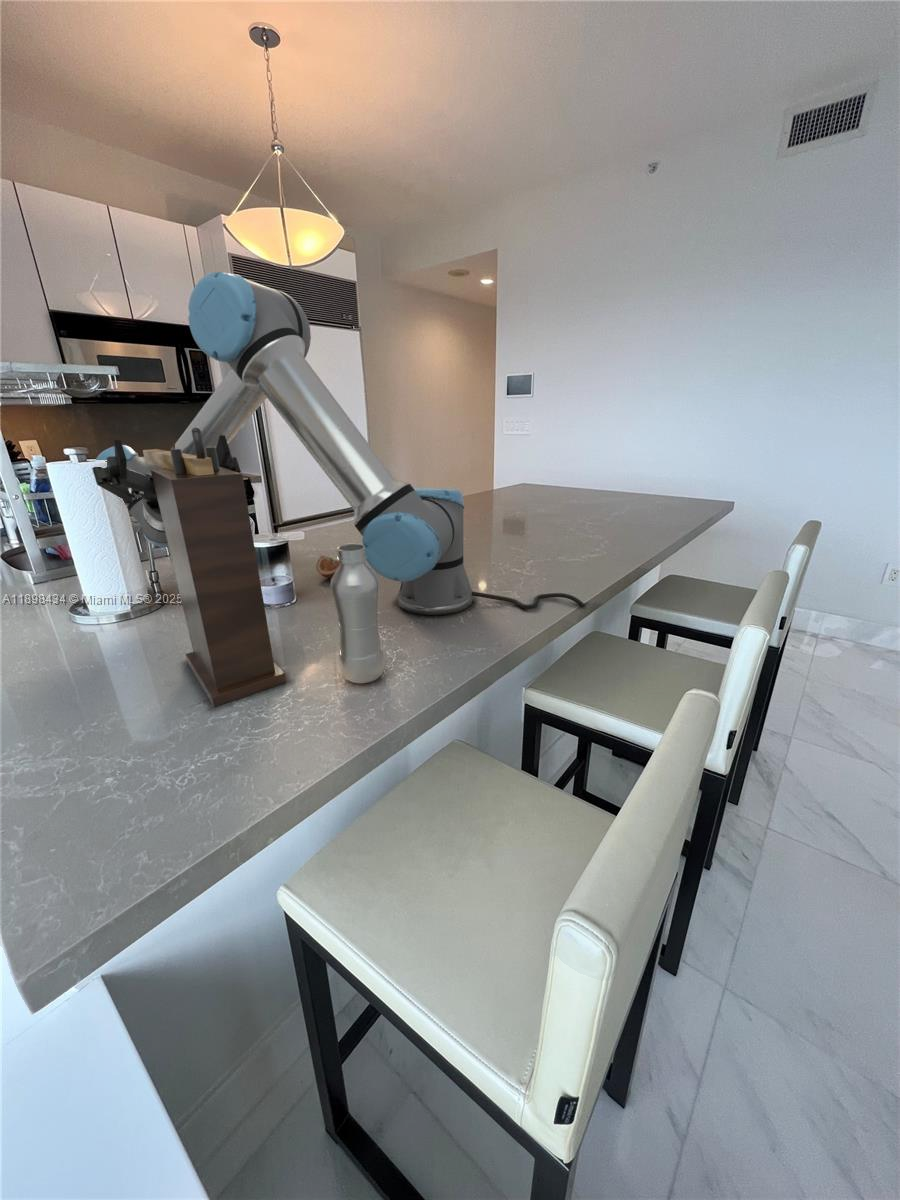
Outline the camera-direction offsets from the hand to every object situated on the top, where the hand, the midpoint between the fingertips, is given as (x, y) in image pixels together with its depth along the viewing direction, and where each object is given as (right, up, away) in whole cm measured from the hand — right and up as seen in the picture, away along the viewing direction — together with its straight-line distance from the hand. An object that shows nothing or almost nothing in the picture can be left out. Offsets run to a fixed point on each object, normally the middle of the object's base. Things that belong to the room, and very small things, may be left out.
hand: (175, 446), depth 69 cm
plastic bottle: (+26, -34, +3) cm, 43 cm away
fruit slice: (+12, -17, +45) cm, 50 cm away
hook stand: (+6, -33, +5) cm, 34 cm away
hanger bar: (+2, -4, -3) cm, 5 cm away
